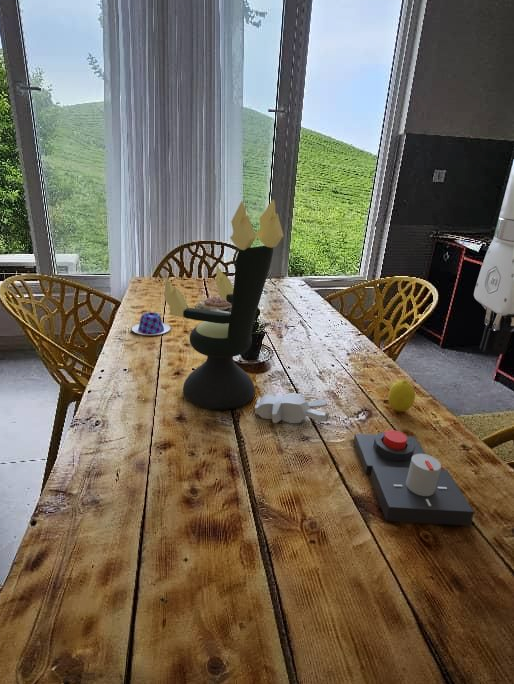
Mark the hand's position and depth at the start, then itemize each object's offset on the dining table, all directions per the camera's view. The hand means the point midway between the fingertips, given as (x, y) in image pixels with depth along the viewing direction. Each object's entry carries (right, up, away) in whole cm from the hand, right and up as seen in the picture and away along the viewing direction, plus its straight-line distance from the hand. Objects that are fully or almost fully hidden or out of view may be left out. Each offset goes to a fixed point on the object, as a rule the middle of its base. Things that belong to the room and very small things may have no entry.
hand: (491, 351), depth 70 cm
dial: (-10, -22, +3) cm, 25 cm away
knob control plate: (-10, -25, +4) cm, 27 cm away
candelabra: (-42, -12, +34) cm, 55 cm away
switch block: (-11, -21, +14) cm, 27 cm away
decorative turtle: (-47, +13, +94) cm, 106 cm away
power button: (-11, -18, +13) cm, 24 cm away
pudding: (-67, +5, +72) cm, 98 cm away
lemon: (-3, -15, +31) cm, 34 cm away
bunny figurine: (-28, -15, +27) cm, 42 cm away
